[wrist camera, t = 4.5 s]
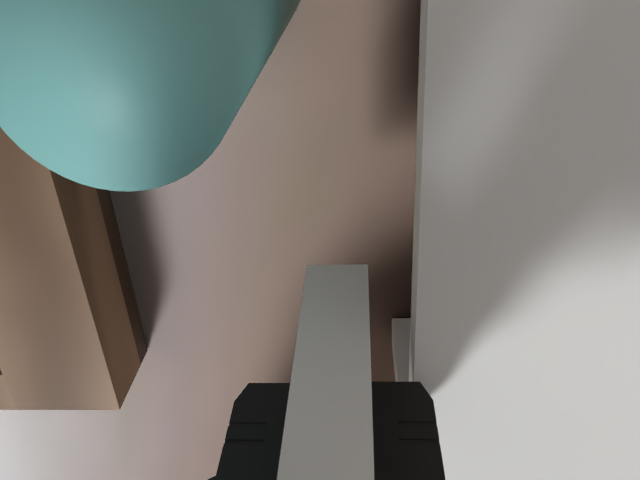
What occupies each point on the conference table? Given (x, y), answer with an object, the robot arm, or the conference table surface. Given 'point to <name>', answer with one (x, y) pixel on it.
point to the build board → (62, 293)
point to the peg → (130, 82)
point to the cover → (528, 238)
